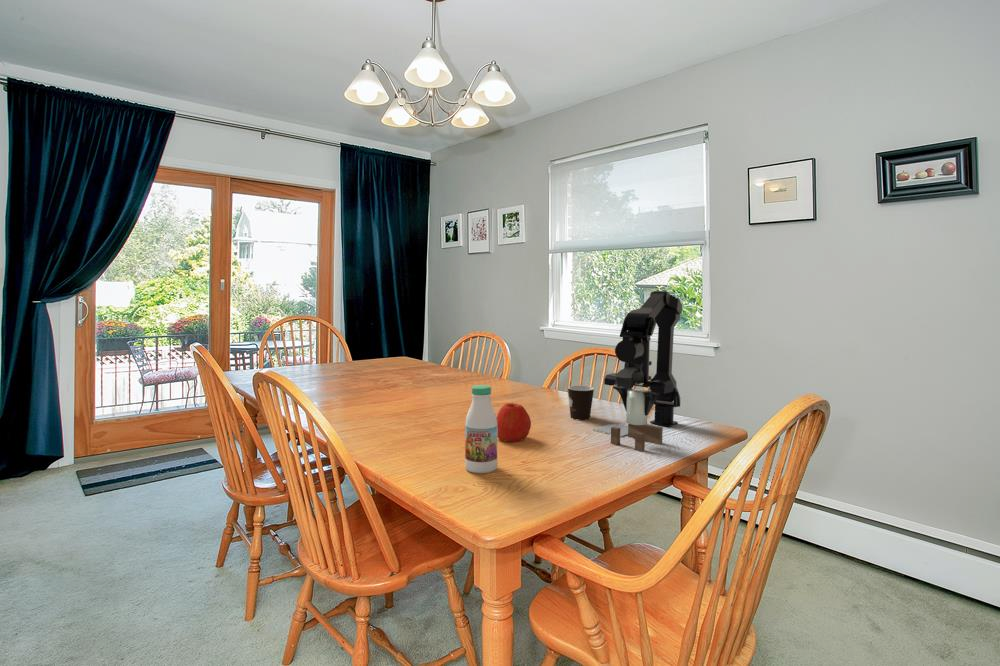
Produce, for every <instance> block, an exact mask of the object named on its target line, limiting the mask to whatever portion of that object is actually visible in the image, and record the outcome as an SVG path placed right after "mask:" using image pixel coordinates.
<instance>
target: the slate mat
mask: <svg viewBox="0 0 1000 666" xmlns="http://www.w3.org/2000/svg"><path fill="white" fill-rule="evenodd" d="M612 427H618V428H620V438H624V437H626V436H628V426H625V425H624V426H623V425H620V424H615V423H610V424H609V423H608V424H605V425H603V426H599V427H595V428H593V430H592V431H594V430H597V431H596V432H598V431H601V432H600V433H602V432H605V433H604V434H606V433H609V434H608V435H610V434H611V428H612ZM625 435H626V436H625ZM623 436H624V437H623Z"/></svg>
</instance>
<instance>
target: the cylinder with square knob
mask: <svg viewBox="0 0 1000 666" xmlns="http://www.w3.org/2000/svg"><path fill="white" fill-rule="evenodd" d="M646 391H648V389H643V388H632V389H628V390H627V411H626V410H625V412H626V417H625V418H626V420H625V422H626V424H627V425H628V424H632V425H646V424H648V415H647V416H645V395H644V393H643V392H646Z"/></svg>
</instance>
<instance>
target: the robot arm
mask: <svg viewBox="0 0 1000 666" xmlns="http://www.w3.org/2000/svg"><path fill="white" fill-rule="evenodd" d="M682 312H683V304H682V301H680V299H679V298H678V297H676V296H674V295H672V294H671V293H670V292H669V291H667V290H654V291H651V292H650V294H649V297H648V298H647V299H646V301H644V303H643V304H642V305H641V306H640V307H639V308H636V309H632V310H631V311H629V312H627V314H626V316H624V318H623V323H622V327H621V329H620V333H619V338H622V339H621V340H620V341H619V342H617V344H616V346H615V348H614V354H615V356H616V358H617V360H619V361H621V362H623V363H624V366H623V368H622V369H620V370H619V371H618V372H613V373H607V374H606V375H605V376H604V378H603V384H604V385H605V386H611V387H612V388H613V389H614V390H616V391H617V393H619V395H620V398H621V401H622V404H623V406H624V409H625V412H626V411H627V390H628V389H633V387H635V386H636V387H640V388H647V391H646V392H643V393H644V395H645V416H647V417H648V416H649V414H650V412H651V410H652V408H653V406H654V417H653V418H654V419H653V420H651V421H649V423H650V424H651V425H656V426H661V427H668V428H669V427H672V426H675V425H677V424H679V423H678V421H676V420H674V417H675V416H674V415H675V413H674V412H675V411H674V410H675V409H674V408H679V407H681V396H680V393H679V389H678V388H677V384H678V383H677V381H676V379H675V377H674V375H673V374H672V373H673V372H672V371H673V356H674V355H673V352H674V351H673V350H674V335H675V327H676V325H677V324H678V322H679V321H680V319H681V314H682ZM656 326H657V327H658V330H657V331H658V333H657V334H658V335H657V351H656V368H655V369H656V373H655V374H654V376H653V377H652V375H650V366H652V361H651V360H650V350H651V349H650V346H651V342H650V341H651V339H652V338H651V337H652V336H653V334H654V331H655V328H656Z"/></svg>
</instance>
